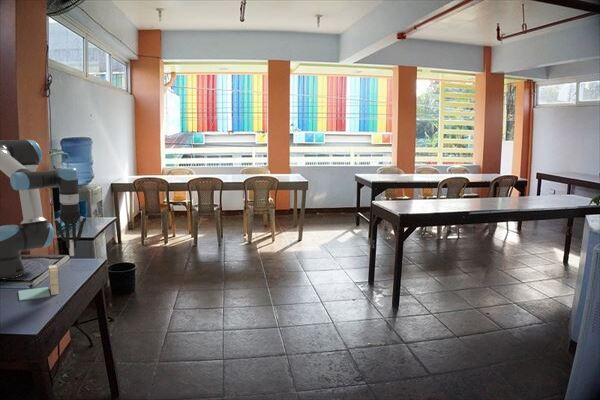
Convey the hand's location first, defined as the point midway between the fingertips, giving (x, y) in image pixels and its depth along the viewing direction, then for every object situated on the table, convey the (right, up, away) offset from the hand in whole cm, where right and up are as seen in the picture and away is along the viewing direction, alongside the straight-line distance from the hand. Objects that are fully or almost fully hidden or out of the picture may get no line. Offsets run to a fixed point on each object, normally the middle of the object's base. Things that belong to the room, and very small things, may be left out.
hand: (71, 255), depth 210 cm
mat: (-14, -16, -5) cm, 22 cm away
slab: (-7, -16, -1) cm, 18 cm away
